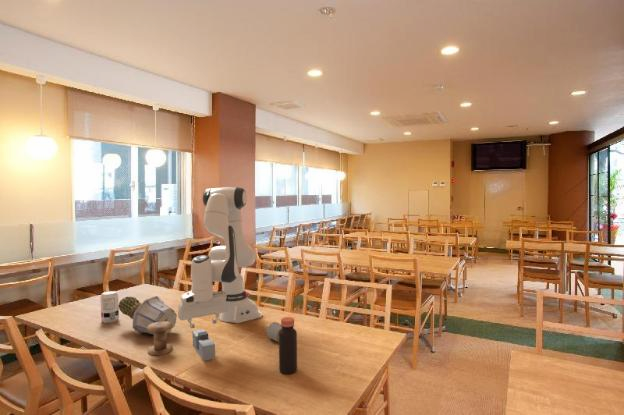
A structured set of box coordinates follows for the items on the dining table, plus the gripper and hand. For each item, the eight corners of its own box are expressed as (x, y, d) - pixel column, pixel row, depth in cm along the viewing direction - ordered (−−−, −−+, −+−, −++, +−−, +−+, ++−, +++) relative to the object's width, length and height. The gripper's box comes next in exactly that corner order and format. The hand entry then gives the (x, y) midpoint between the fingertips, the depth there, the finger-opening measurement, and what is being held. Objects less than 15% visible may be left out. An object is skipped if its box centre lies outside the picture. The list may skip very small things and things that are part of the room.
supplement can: (97, 322, 200) (96, 294, 199) (111, 317, 207) (110, 290, 206) (109, 324, 197) (108, 295, 196) (122, 319, 204) (121, 291, 203)
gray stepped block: (204, 342, 173) (203, 329, 173) (215, 358, 156) (214, 344, 156) (192, 344, 171) (192, 331, 170) (202, 361, 154) (202, 346, 154)
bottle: (297, 366, 149) (296, 316, 148) (297, 374, 142) (296, 322, 141) (279, 366, 149) (279, 316, 148) (278, 375, 142) (278, 322, 141)
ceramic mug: (277, 345, 169) (277, 328, 168) (266, 340, 175) (266, 323, 174) (295, 339, 176) (295, 322, 176) (284, 334, 182) (284, 318, 182)
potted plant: (183, 301, 187) (139, 281, 198) (155, 314, 171) (108, 291, 182) (179, 333, 191) (135, 311, 201) (151, 348, 174) (105, 324, 185)
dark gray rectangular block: (206, 346, 166) (206, 331, 165) (208, 349, 163) (208, 333, 162) (198, 348, 164) (198, 332, 164) (200, 351, 161) (199, 335, 161)
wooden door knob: (170, 343, 171) (170, 319, 171) (174, 352, 163) (173, 326, 162) (146, 348, 166) (145, 323, 166) (149, 357, 158) (148, 331, 157)
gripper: (224, 288, 170) (225, 318, 171) (176, 296, 160) (177, 327, 161) (228, 292, 165) (229, 323, 166) (179, 300, 155) (180, 333, 156)
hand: (203, 325), depth 164 cm, fingers open, 8 cm apart
